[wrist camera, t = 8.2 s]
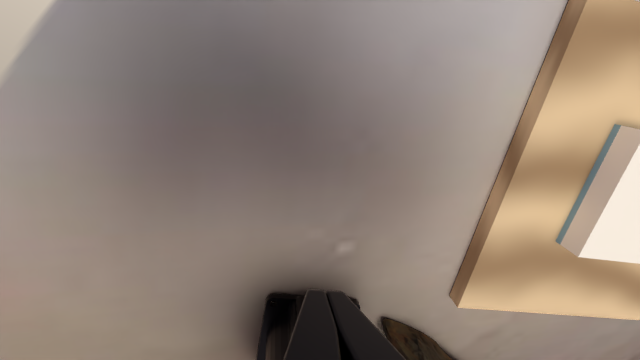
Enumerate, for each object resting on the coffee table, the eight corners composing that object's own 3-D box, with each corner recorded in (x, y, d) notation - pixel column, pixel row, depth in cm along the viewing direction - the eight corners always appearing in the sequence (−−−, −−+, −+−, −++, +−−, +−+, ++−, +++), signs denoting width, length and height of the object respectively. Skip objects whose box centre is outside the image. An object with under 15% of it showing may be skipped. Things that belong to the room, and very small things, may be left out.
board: (624, 308, 27) (639, 320, 26) (449, 295, 24) (457, 307, 23) (789, 53, 20) (818, 53, 19) (572, -8, 17) (591, -12, 16)
